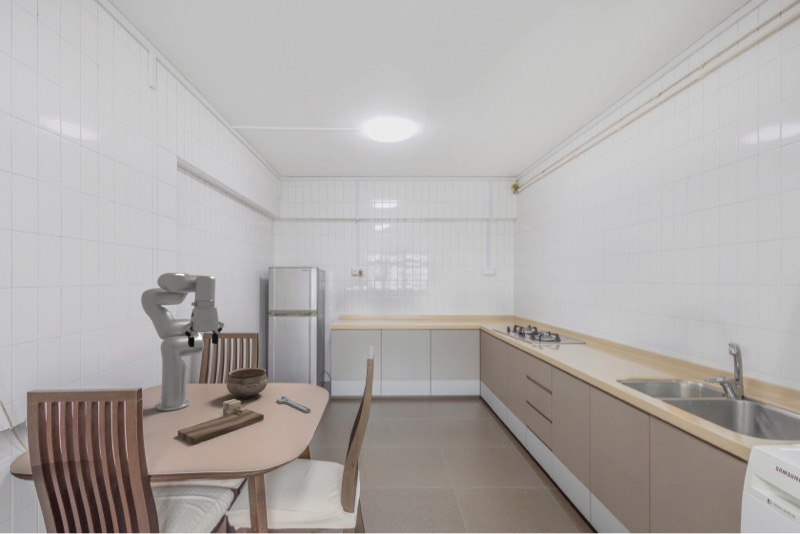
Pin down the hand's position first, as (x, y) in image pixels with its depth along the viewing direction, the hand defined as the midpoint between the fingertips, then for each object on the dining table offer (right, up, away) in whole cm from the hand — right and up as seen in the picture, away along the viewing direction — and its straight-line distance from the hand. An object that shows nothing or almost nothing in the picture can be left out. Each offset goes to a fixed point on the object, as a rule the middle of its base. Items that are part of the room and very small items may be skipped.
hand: (203, 345), depth 151 cm
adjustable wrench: (+33, -32, +15) cm, 49 cm away
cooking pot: (+7, -32, +27) cm, 43 cm away
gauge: (+13, -31, 0) cm, 33 cm away
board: (+14, -30, -11) cm, 35 cm away
